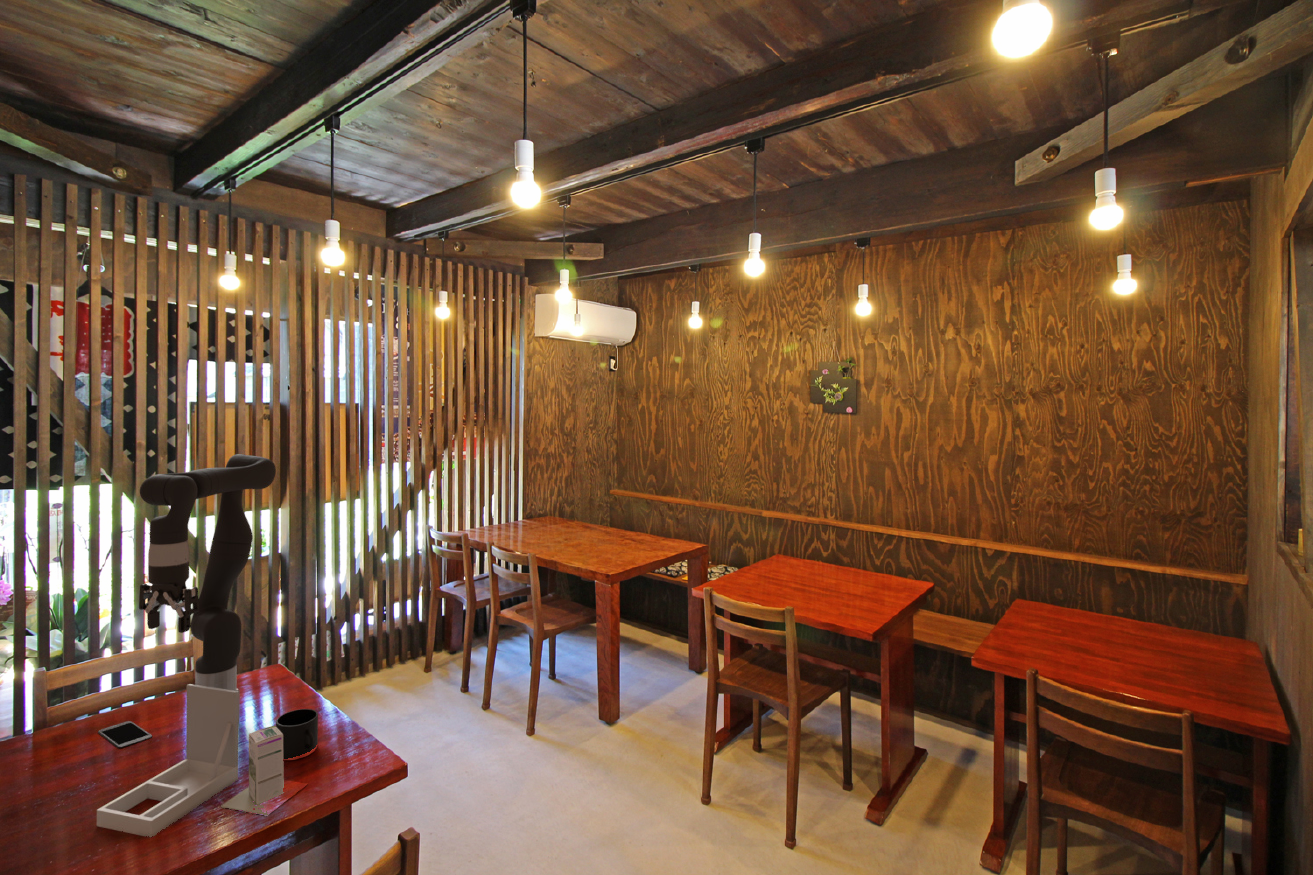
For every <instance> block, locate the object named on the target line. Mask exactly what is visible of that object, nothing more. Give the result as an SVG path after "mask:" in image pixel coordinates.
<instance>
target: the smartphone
mask: <svg viewBox="0 0 1313 875" xmlns="http://www.w3.org/2000/svg"><path fill="white" fill-rule="evenodd" d="M97 733H98V734H99V735H100V737H102V738H103V737H104V738H103V739H105V738H106V739H107V740H108V741H107V740H106V739H105V740H106V741H107V742H108V743H110V744H111V745H113V746H114V747H115V748H116V749H120V748H121V749H124V748H127V747H131V746H133V745H137V744H140V743H142V742H145V741H147V740H150V739H152V738H153V735H152V734H151V733H150V732H148V731H146V730H145V729H144V728H142V727H141V726H139V725H138V724H136V723H134V721H131V720H127V721H124V722H123V721H122V722H120V723H117V724H114V725H111V726H110V725H109V726H107V727H104V728H102V729H99V730H98V731H97ZM130 745H131V746H130Z"/></svg>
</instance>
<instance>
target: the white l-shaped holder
mask: <svg viewBox="0 0 1313 875" xmlns="http://www.w3.org/2000/svg"><path fill="white" fill-rule="evenodd" d="M185 714H186V719H185V720H186V724H185V725H186V729H185V730H186V734H185V735H186V738H185V740H186V742H185V743H186V744H185V746H186V747H185V750H186V751H185V754H186V755H185V759H184V760H181V761H180V762H177V763H176V764H175V765H173V766H171V767H170V768H168V769H166V770H164V771H162V772H161V773H159V774H157V775H156V776H154V777H151V778H150V779H148V780H146V781H144V782H143V783H142V784H139V785H138V786H136V787H134V788H133V789H131V790H129V791H127V792H125V793H124V794H123V795H120V796H119V797H117V798H115V799H114V800H111V801H110V802H108V803H107V804H105V805H103V806H101V807H99V808H98V809H96V827H99V828H105V829H108V830H114V831H117V832H122V831H123V833H127V834H128V833H129V834H132V835H137V836H141V837H146V836H147V837H146V838H151V837H152V836H153V837H154V836H156V835H157V833H158V832H159V833H160V831H161V830H162V829H164V830H165V829H167V828H168V827H170V826H171V825H173V824H174V823H176V822H177V821H179V820H180V819H181V818H183V817H185V816H186V815H188V814H190V813H191V812H192V811H193V809H194V808H195V809H197V808H198V807H200V806H201V805H202V803H203V802H204V801H206V802H207V801H209V800H211V799H212V798H213V797H215V796H216V795H218V794H219V793H221V792H222V791H224V790H225V789H226V788H225V787H227V788H229V787H230V786H231V785H233V784H234V783H236V782H237V781H239V726H240V725H239V724H240V705H239V691H234V690H227V689H220V688H214V687H207V686H200V685H195V684H194V683H192V684H191V683H189V684H187V685H186V713H185ZM236 780H237V781H236ZM235 781H236V782H235ZM233 782H234V783H233ZM232 783H233V784H232ZM224 788H225V789H224ZM223 789H224V790H223ZM220 791H221V792H220ZM218 792H219V793H218ZM217 793H218V794H217ZM215 794H216V795H215ZM214 795H215V796H214ZM212 796H213V797H212ZM211 797H212V798H211ZM147 799H148V800H155V801H160V802H159V803H157V804H155V805H154V806H153V807H150V808H149V809H148V810H146V811H144V812H142V813H141V814H134V813H130V812H127V811H128V810H131V809H133V808H134V807H135V806H137V805H139V804H140V803H142V802H144V801H145V800H147ZM208 799H209V800H208ZM204 803H205V802H204ZM204 803H203V804H204ZM200 804H201V805H200ZM199 805H200V806H199ZM197 806H198V807H197ZM195 809H194V810H195ZM190 811H191V812H190ZM184 815H185V816H184ZM178 819H179V820H178ZM173 822H174V823H173ZM172 823H173V824H172ZM170 824H171V825H170ZM169 825H170V826H169ZM166 827H167V828H166ZM162 831H163V830H162ZM162 831H161V832H162ZM159 833H158V834H159ZM148 836H149V837H148ZM153 837H152V838H153Z"/></svg>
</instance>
